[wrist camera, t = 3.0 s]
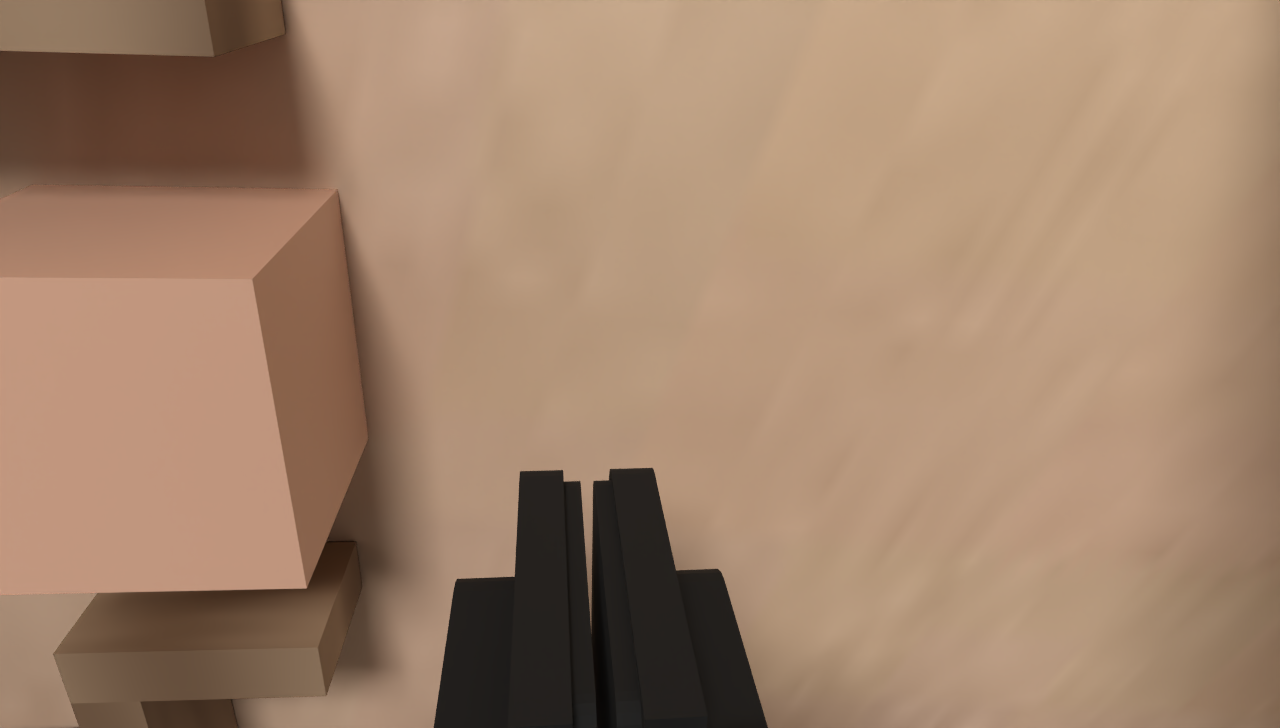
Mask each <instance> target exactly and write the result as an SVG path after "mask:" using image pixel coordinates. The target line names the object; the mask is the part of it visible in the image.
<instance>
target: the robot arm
mask: <svg viewBox="0 0 1280 728" xmlns="http://www.w3.org/2000/svg"><path fill="white" fill-rule="evenodd" d="M434 728H768V727H767V723H766V720H765V717H764V713H763V710H762V706H761V703H760V700H759V696H758V693H757V689H756V686H755V683H754V679H753V676H752V672H751V669H750V666H749V662H748V659H747V655H746V652H745V649H744V645H743V642H742V639H741V635H740V632H739V628H738V625H737V622H736V618H735V615H734V611H733V608H732V605H731V601H730V598H729V594H728V591H727V588H726V584H725V581H724V578H723V576H722V573H721V572H720V571H719V570H718V569H705V570H679V571H676V569H675V565H674V560H673V555H672V551H671V546H670V542H669V537H668V533H667V528H666V523H665V519H664V514H663V510H662V505H661V501H660V496H659V491H658V487H657V482H656V478H655V473H654V470H653V468H634V469H610V474H609V481H594V483H593V544H592V627H591V625H590V611H589V597H588V582H587V568H586V554H585V540H584V526H583V512H582V498H581V484H580V481H572V482H564V481H563V470H556V471H520V481H519V502H518V523H517V544H516V564H515V577H497V578H471V579H457V580H456V582H455V587H454V592H453V599H452V606H451V613H450V620H449V627H448V634H447V641H446V647H445V654H444V661H443V668H442V675H441V682H440V689H439V696H438V703H437V709H436V716H435V723H434Z"/></svg>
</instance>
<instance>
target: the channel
mask: <svg viewBox="0 0 1280 728" xmlns="http://www.w3.org/2000/svg"><path fill="white" fill-rule="evenodd" d="M284 34H286V33H285V26H284V19H283V12H282V5H281V0H0V51H29V52H65V53H101V54H136V55H172V56H208V57H215V56H218V55H221V54H224V53H227V52H231V51H234V50H237V49H240V48H243V47H246V46H249V45H253V44H256V43H259V42H262V41H265V40H268V39H271V38H275V37H278V36H281V35H284ZM361 588H362V582H361V575H360V567H359V560H358V553H357V546H356V542H326V543H325V545H324V548H323V550H322V553H321V555H320V557H319V560H318V562H317V565H316V567H315V570H314V572H313V574H312V577H311V579H310V582H309V584H308V587H307V588H303V589H255V590H208V591H161V592H114V593H97V595H96V596H95V597H94V599H93V600H92V601H91V603H90V604H89V606H88V607H87V608H86V610H85V611H84V612H83V614H82V615H81V616H80V618H79V619H78V621H77V622H76V623H75V625H74V626H73V627H72V629H71V630H70V632H69V633H68V634H67V636H66V637H65V638H64V640H63V641H62V642H61V644H60V645H59V647H58V648H57V649H56V651H55V652H54V653H53V655H54V658H55V661H56V664H57V666H58V669H59V672H60V675H61V677H62V680H63V683H64V686H65V689H66V691H67V694H68V697H69V700H70V702H71V705H72V708H73V711H74V714H75V716H76V719H77V722H78V725H79V728H238V727H237V723H236V719H235V715H234V711H233V707H232V702H231V699H245V698H279V697H314V696H326V695H327V692H328V689H329V686H330V683H331V680H332V677H333V674H334V671H335V668H336V665H337V662H338V659H339V656H340V653H341V650H342V646H343V643H344V640H345V637H346V634H347V631H348V628H349V625H350V622H351V619H352V616H353V613H354V610H355V607H356V604H357V601H358V598H359V595H360V592H361Z"/></svg>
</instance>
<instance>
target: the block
mask: <svg viewBox="0 0 1280 728" xmlns="http://www.w3.org/2000/svg"><path fill="white" fill-rule="evenodd" d="M367 441H368V431H367V423H366V415H365V406H364V398H363V390H362V382H361V374H360V366H359V358H358V350H357V342H356V334H355V326H354V318H353V309H352V301H351V293H350V285H349V277H348V269H347V261H346V253H345V245H344V237H343V229H342V221H341V212H340V204H339V196H338V189H287V188H222V187H157V186H92V185H30V186H28V187H26V188H23V189H21V190H19V191H17V192H15V193H12V194H10V195H8V196H6V197H3V198H1V199H0V595H19V594H67V593H114V592H161V591H208V590H255V589H303V588H307V587H308V584H309V582H310V579H311V577H312V574H313V572H314V570H315V567H316V565H317V562H318V560H319V557H320V555H321V553H322V550H323V548H324V545H325V543H326V540H327V538H328V536H329V533H330V531H331V528H332V526H333V523H334V521H335V518H336V516H337V514H338V511H339V509H340V506H341V504H342V501H343V499H344V497H345V494H346V492H347V489H348V487H349V484H350V482H351V480H352V477H353V475H354V472H355V470H356V467H357V465H358V462H359V460H360V458H361V455H362V453H363V450H364V448H365V445H366V443H367Z"/></svg>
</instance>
